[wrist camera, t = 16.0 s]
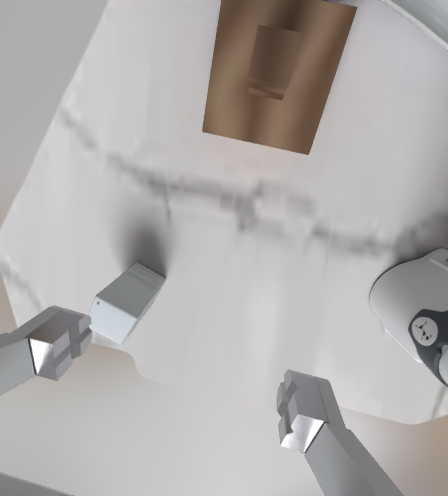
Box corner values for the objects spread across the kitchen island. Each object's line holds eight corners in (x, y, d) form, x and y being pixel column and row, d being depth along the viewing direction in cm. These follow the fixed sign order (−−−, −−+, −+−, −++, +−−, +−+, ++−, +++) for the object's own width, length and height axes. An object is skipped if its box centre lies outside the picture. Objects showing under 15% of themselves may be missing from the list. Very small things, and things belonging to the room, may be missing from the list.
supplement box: (125, 285, 47) (81, 325, 35) (137, 260, 44) (94, 294, 32) (154, 302, 48) (121, 347, 36) (168, 279, 45) (137, 319, 33)
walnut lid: (354, 12, 22) (385, -37, 17) (307, 154, 28) (319, 152, 22) (224, -11, 23) (215, -65, 18) (203, 132, 28) (191, 124, 23)
